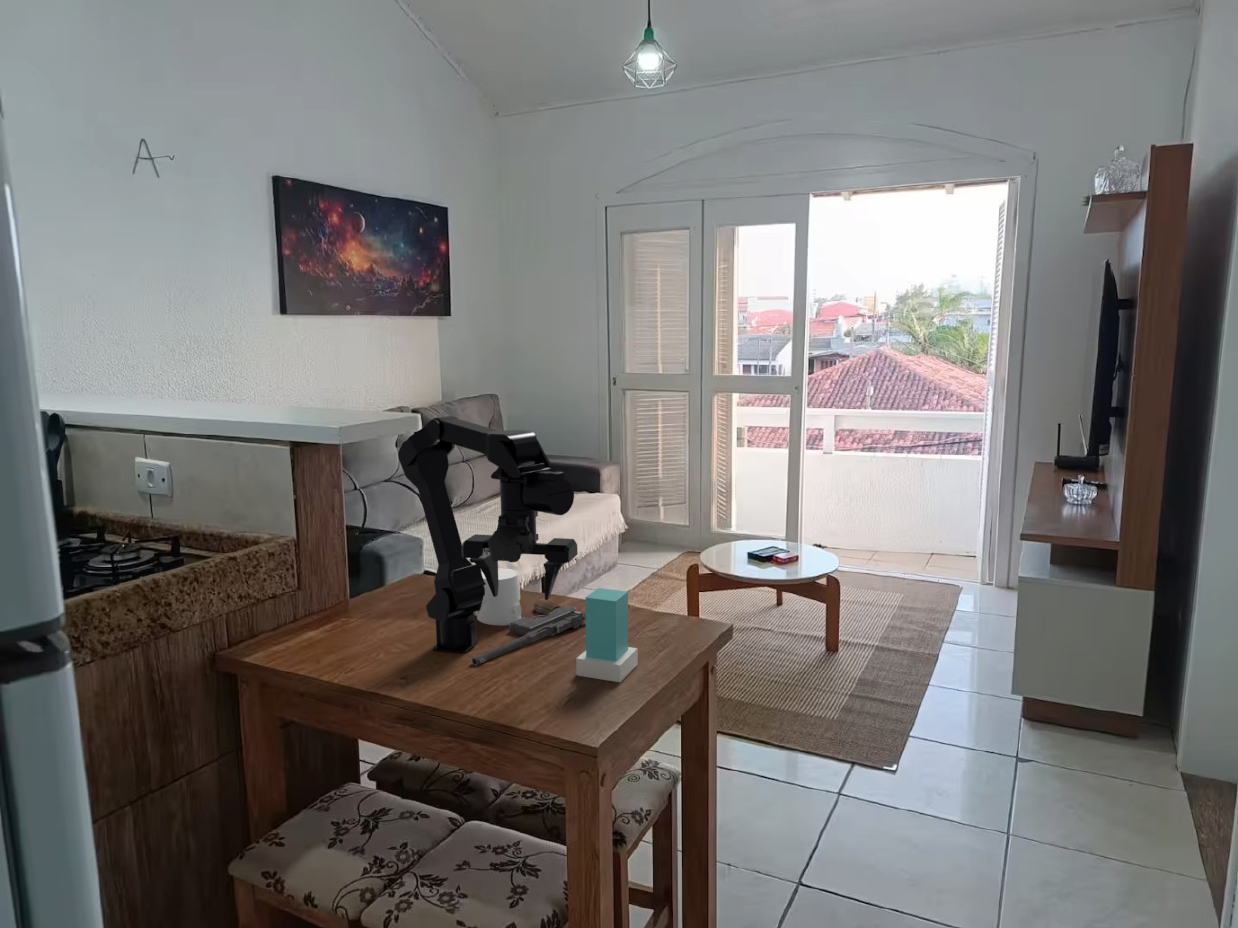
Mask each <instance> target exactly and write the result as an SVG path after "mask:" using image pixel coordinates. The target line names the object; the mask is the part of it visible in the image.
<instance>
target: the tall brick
mask: <svg viewBox="0 0 1238 928" xmlns="http://www.w3.org/2000/svg"><path fill="white" fill-rule="evenodd" d="M584 598H585V600H584V601H585V614H586V620H585V651H586V657H590V658H597V659H603V660H610V661H617V660H618V659H619V658H620V657H621V656H622V655H623V654H624V653H625V652H627V651H628V647H629V591H628V590H627V591H626V590H619V589H609V588H604V587H603V588H601V587H598V588H597V589H595V590H593V591H592V592H591V593H589V594H588V595H587V596H585V597H584Z"/></svg>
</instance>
